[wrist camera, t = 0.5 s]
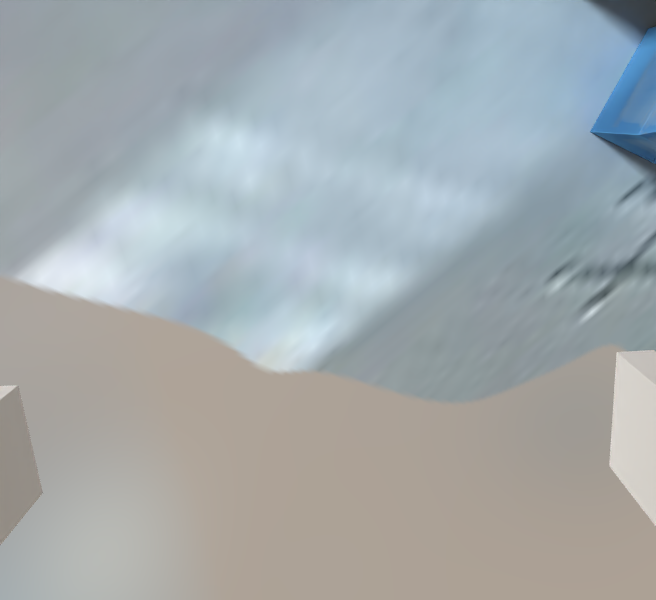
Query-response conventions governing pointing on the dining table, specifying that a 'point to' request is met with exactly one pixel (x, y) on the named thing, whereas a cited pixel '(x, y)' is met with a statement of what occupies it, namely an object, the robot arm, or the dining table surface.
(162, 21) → the dining table surface
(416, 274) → the dining table surface
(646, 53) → the perfume bottle
